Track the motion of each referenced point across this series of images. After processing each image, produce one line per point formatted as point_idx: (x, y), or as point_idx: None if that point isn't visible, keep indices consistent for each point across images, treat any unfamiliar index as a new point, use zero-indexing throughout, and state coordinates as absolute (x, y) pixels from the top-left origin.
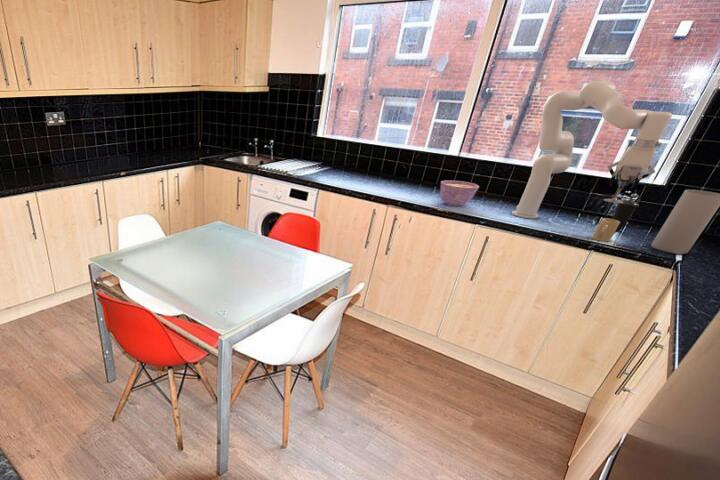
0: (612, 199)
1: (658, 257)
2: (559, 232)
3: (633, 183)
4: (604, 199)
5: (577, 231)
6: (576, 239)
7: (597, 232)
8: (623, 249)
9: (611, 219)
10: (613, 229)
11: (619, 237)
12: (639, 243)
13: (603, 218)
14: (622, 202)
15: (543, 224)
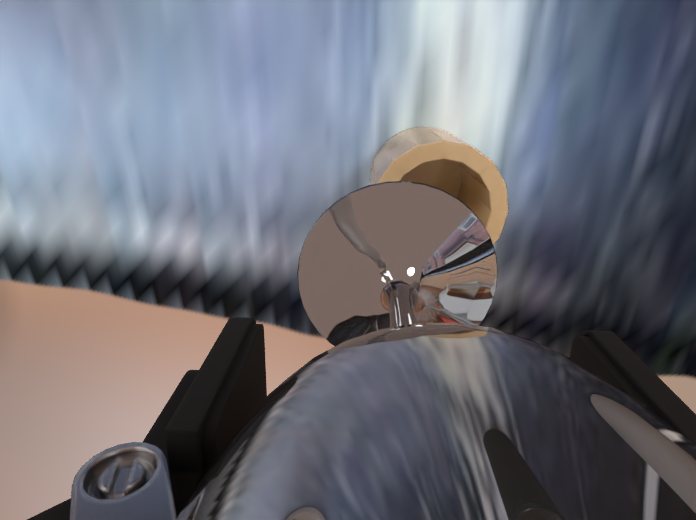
0: (377, 314)
1: (669, 354)
2: (193, 202)
3: (616, 384)
4: (304, 275)
5: (284, 68)
6: (296, 299)
7: None
8: (520, 325)
9: (448, 159)
10: None
11: (549, 9)
12: (652, 93)
13: (388, 178)
14: (484, 303)
15: (60, 38)
